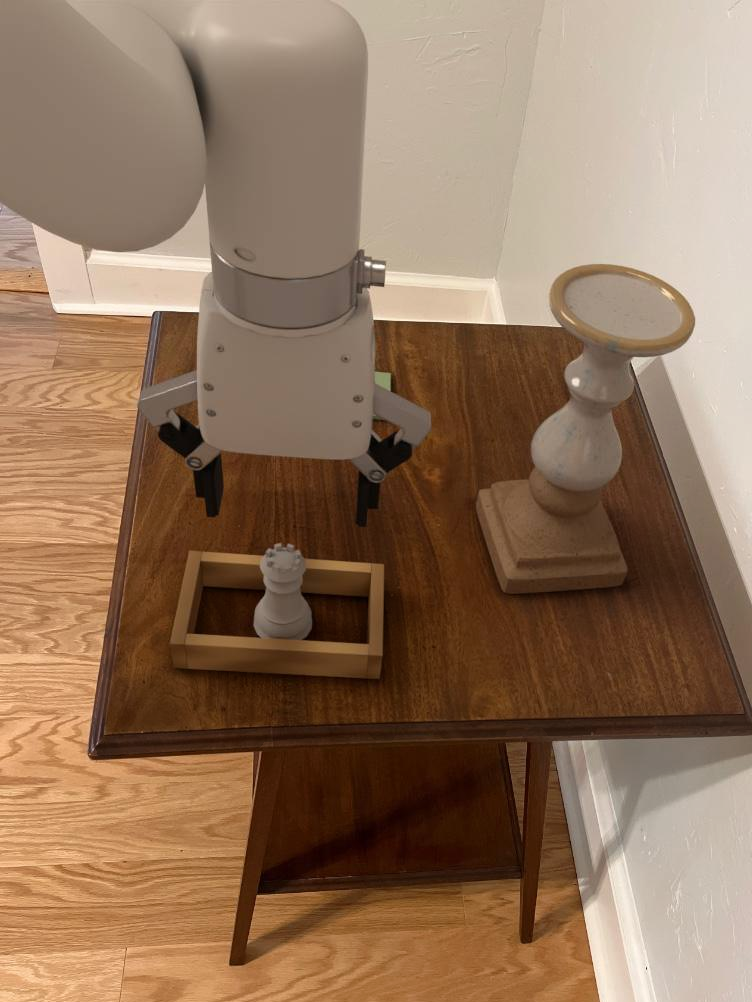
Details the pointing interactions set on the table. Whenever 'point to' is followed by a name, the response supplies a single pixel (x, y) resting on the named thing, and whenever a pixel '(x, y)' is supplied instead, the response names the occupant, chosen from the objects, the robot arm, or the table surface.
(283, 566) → the rook chess piece
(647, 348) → the candle holder
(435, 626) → the table surface
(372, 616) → the rectangular wooden frame
